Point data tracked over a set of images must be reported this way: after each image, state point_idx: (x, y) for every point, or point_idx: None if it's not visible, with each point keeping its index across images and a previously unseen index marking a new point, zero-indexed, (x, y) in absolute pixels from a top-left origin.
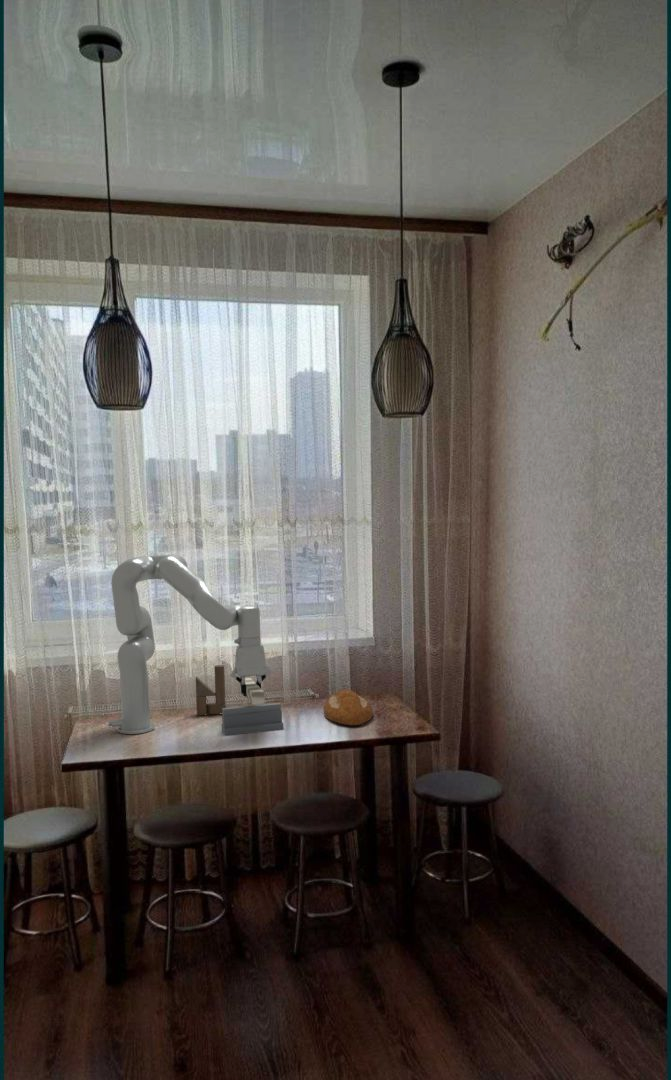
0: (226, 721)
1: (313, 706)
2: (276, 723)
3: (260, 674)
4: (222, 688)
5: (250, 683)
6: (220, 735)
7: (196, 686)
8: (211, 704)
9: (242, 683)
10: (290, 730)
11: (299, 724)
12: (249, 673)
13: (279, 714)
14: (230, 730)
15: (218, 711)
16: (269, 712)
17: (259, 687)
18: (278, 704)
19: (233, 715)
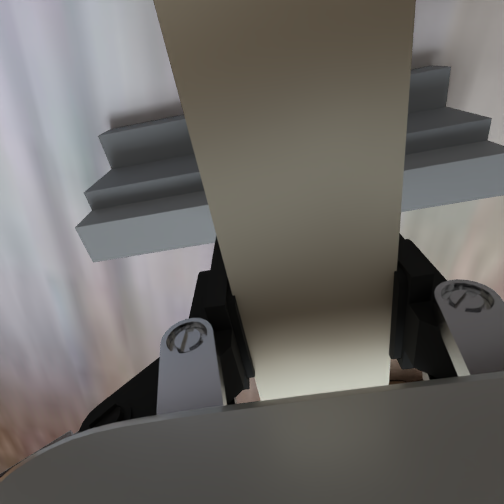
0: (451, 114)
1: (55, 412)
2: (138, 141)
3: (137, 419)
4: None
5: (314, 376)
6: (458, 70)
7: None
8: None
9: (468, 297)
10: (65, 92)
11: (45, 204)
12: (473, 436)
13: (107, 181)
14: (412, 72)
15: None
16: (165, 176)
17: (196, 121)
18: (91, 224)
19: (418, 132)
